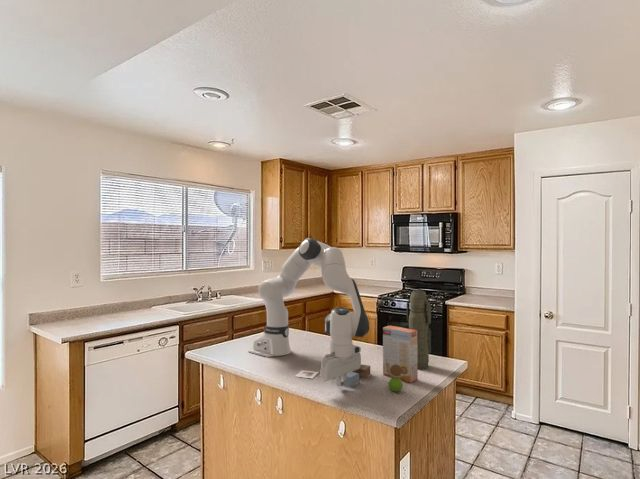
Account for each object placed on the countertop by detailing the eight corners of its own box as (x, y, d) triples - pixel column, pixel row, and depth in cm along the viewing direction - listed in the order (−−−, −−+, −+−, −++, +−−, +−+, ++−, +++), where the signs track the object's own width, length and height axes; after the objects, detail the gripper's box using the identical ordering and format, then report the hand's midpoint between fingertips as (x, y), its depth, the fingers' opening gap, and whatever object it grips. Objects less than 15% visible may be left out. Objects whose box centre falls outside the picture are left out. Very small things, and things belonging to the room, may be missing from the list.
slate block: (338, 383, 158) (338, 374, 158) (347, 380, 162) (347, 370, 162) (350, 387, 154) (350, 377, 154) (359, 383, 158) (359, 373, 158)
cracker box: (418, 379, 162) (418, 329, 162) (410, 383, 158) (410, 332, 158) (390, 371, 172) (390, 324, 172) (382, 374, 168) (382, 326, 168)
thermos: (427, 371, 172) (427, 292, 172) (402, 366, 179) (402, 290, 179) (434, 366, 179) (434, 290, 179) (410, 361, 186) (410, 288, 186)
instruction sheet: (294, 376, 166) (294, 375, 166) (301, 370, 173) (301, 370, 173) (312, 379, 163) (312, 378, 163) (318, 372, 171) (318, 371, 171)
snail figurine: (386, 387, 153) (386, 357, 153) (403, 389, 151) (403, 358, 151) (385, 392, 148) (384, 361, 148) (402, 394, 146) (402, 363, 146)
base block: (352, 377, 166) (352, 367, 166) (357, 372, 171) (357, 363, 171) (365, 379, 163) (365, 369, 163) (370, 374, 169) (370, 365, 169)
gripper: (328, 357, 142) (328, 395, 142) (363, 346, 157) (363, 380, 156) (316, 353, 147) (316, 390, 146) (351, 343, 161) (351, 377, 161)
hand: (341, 385), depth 152 cm, fingers closed
